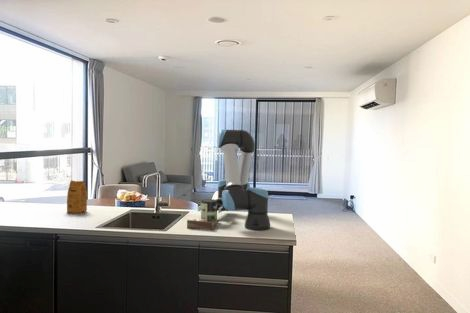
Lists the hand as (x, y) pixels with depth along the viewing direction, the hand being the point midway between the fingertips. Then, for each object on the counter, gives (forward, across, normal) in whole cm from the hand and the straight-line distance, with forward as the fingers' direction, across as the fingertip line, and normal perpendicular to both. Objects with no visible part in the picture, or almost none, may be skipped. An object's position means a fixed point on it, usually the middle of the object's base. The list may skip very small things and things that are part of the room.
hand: (208, 209), depth 217 cm
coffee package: (-3, +98, -9) cm, 98 cm away
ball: (+12, 0, -6) cm, 13 cm away
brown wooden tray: (+10, 0, -8) cm, 13 cm away
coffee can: (-1, 0, -8) cm, 9 cm away
